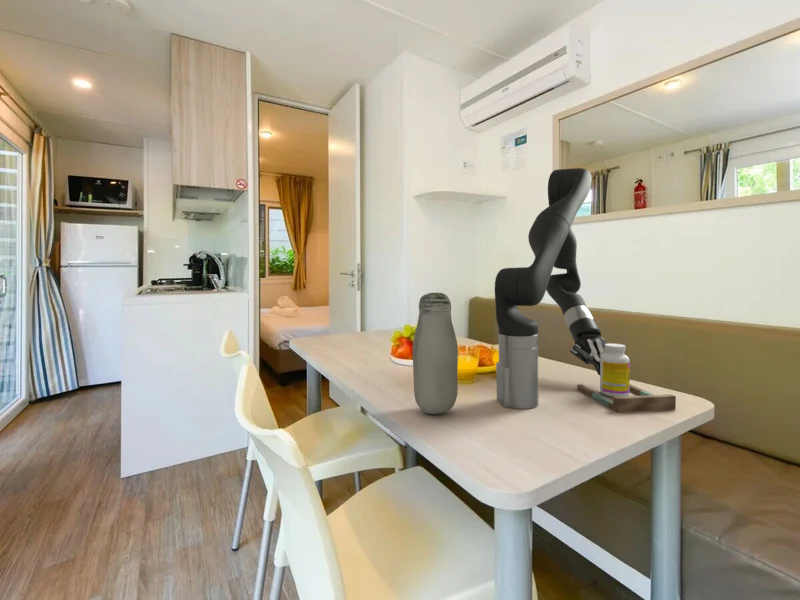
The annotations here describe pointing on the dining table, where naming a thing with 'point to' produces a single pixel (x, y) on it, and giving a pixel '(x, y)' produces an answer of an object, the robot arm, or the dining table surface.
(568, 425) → the dining table surface
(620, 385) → the supplement bottle
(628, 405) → the frame
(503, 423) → the dining table surface
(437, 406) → the grey bottle
